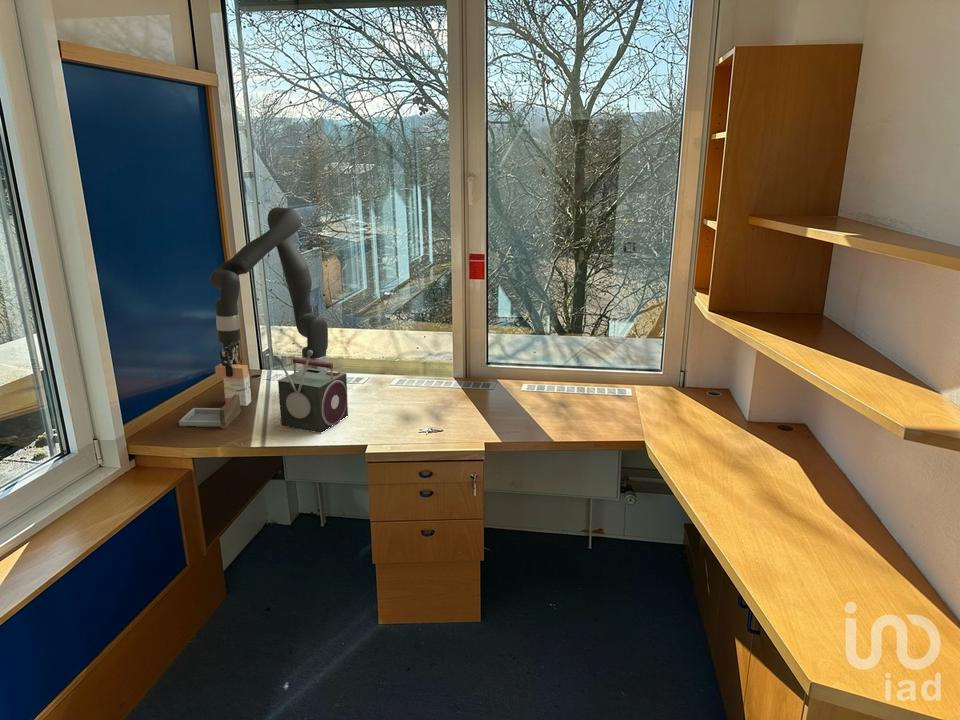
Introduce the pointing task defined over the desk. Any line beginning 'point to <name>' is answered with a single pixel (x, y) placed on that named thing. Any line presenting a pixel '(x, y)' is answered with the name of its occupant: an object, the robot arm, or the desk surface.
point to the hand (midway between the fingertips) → (231, 374)
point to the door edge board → (230, 411)
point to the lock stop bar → (238, 371)
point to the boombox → (312, 396)
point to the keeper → (202, 418)
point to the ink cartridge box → (238, 389)
